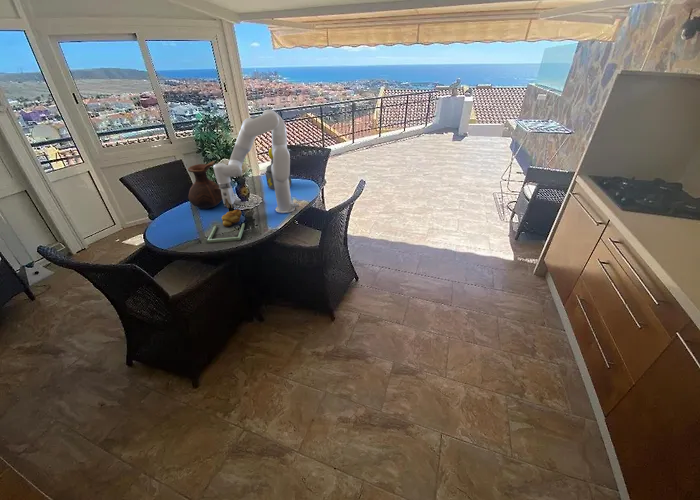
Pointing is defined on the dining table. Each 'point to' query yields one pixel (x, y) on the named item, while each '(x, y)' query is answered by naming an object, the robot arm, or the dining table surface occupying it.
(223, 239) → the frame
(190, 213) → the dining table surface
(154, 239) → the dining table surface
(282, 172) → the robot arm
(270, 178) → the decorative lamp
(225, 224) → the bread roll
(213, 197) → the jug
